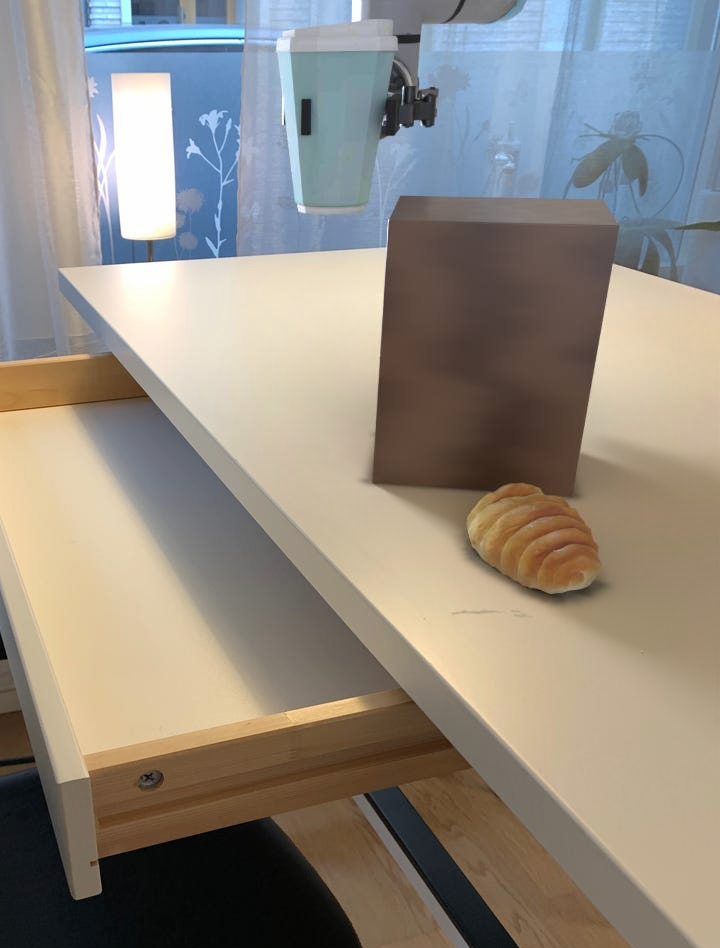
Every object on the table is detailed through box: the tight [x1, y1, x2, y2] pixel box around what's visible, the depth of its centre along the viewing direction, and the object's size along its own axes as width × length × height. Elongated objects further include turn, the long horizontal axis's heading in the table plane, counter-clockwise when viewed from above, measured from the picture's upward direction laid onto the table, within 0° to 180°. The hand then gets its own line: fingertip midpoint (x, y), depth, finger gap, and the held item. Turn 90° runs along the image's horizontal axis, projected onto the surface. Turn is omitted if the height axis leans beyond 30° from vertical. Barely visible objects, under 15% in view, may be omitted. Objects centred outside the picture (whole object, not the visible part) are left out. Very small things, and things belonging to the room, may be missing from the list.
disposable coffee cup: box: [275, 19, 399, 216], centre depth 90 cm, size 11×11×15 cm
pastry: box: [466, 483, 603, 595], centre depth 62 cm, size 9×7×4 cm
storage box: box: [371, 195, 620, 498], centre depth 78 cm, size 14×24×18 cm, turn 168°
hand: (347, 117), depth 85 cm, fingers open, 6 cm apart
